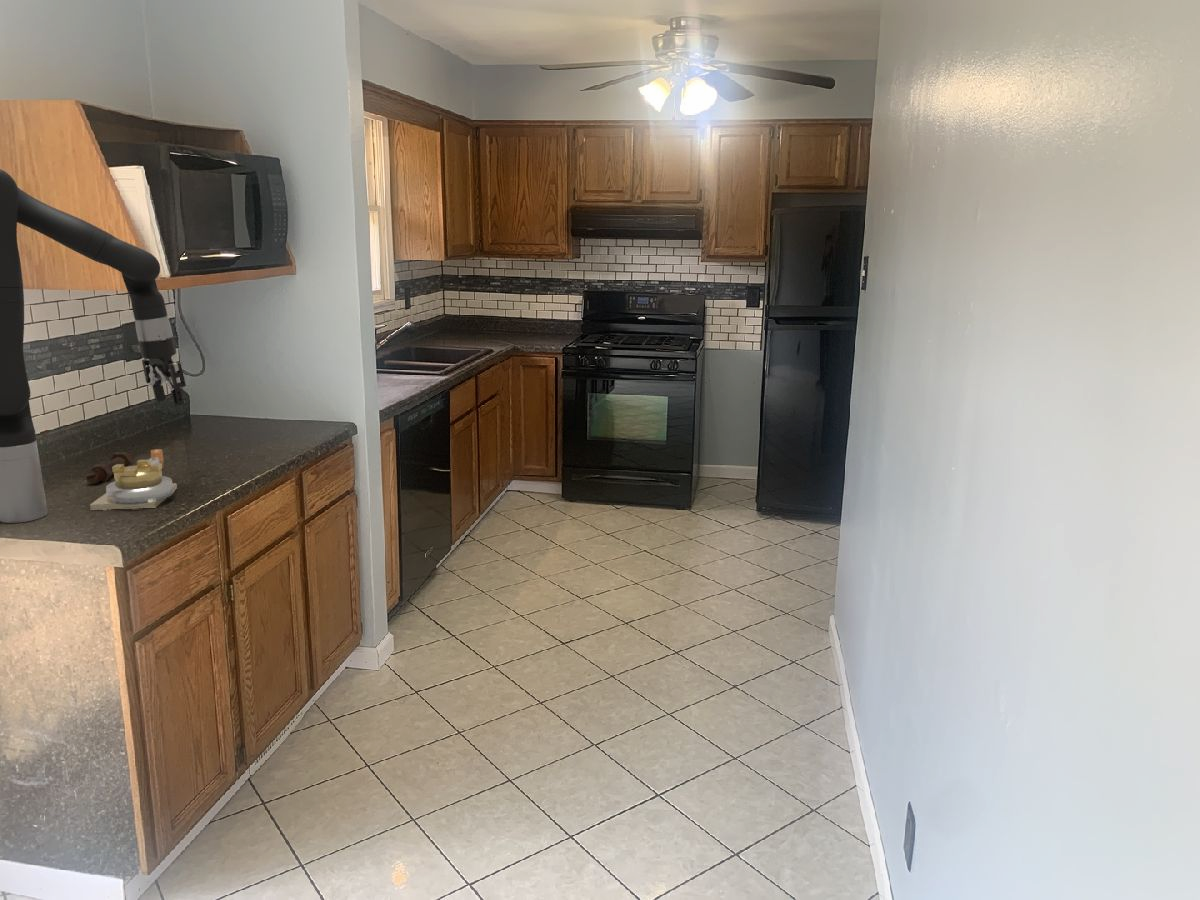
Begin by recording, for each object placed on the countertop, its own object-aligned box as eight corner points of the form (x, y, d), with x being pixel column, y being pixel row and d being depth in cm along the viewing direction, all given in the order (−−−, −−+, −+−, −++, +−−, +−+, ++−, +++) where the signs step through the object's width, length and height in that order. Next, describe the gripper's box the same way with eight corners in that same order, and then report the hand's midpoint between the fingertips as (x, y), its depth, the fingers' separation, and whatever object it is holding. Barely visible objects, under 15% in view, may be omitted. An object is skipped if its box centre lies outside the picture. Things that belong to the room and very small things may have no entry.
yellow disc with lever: (154, 487, 208) (152, 469, 206) (107, 489, 206) (105, 470, 205) (181, 465, 227) (179, 448, 226) (138, 466, 225) (136, 449, 224)
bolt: (90, 492, 226) (122, 474, 241) (106, 483, 225) (137, 466, 240) (76, 473, 225) (109, 456, 239) (91, 464, 224) (124, 447, 239)
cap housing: (89, 512, 205) (86, 493, 204) (117, 490, 221) (115, 473, 220) (162, 509, 207) (160, 491, 206) (185, 488, 223) (183, 471, 222)
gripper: (125, 337, 214) (140, 403, 219) (155, 341, 205) (170, 409, 210) (155, 332, 219) (169, 396, 224) (186, 335, 211) (200, 402, 216)
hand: (169, 402), depth 217 cm, fingers open, 8 cm apart
